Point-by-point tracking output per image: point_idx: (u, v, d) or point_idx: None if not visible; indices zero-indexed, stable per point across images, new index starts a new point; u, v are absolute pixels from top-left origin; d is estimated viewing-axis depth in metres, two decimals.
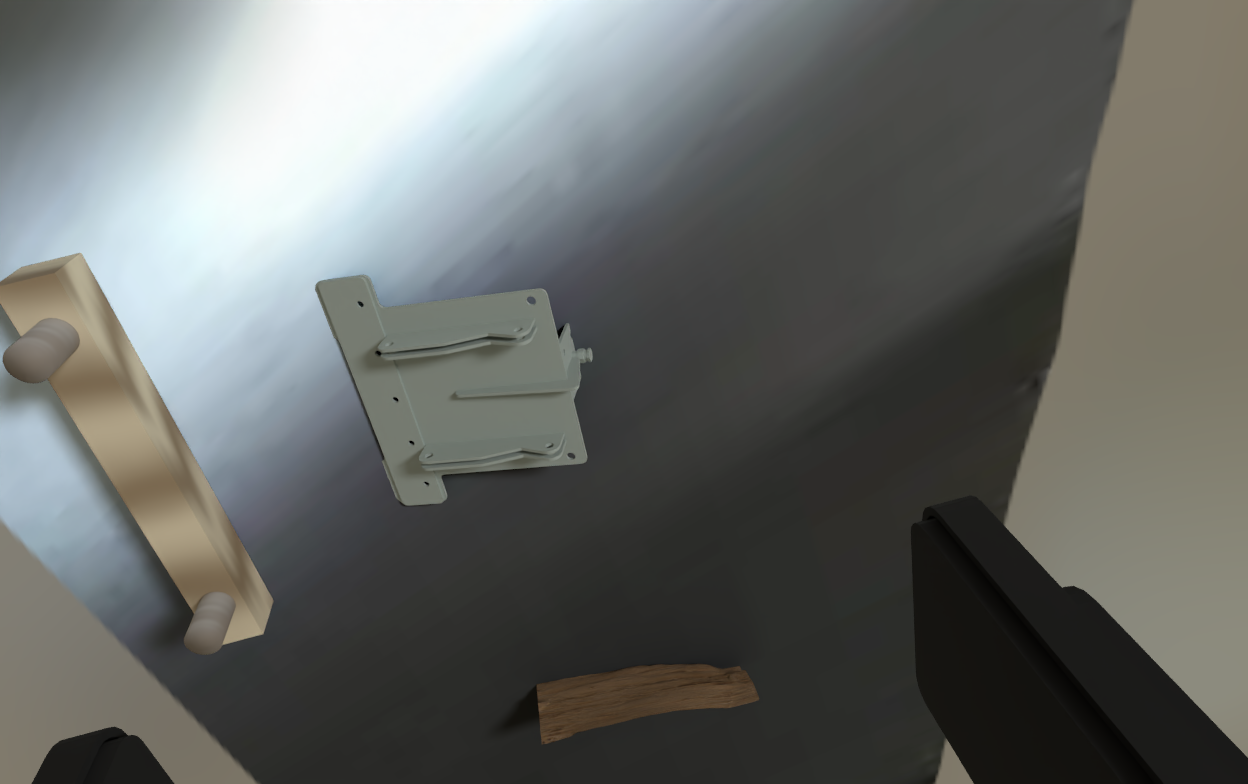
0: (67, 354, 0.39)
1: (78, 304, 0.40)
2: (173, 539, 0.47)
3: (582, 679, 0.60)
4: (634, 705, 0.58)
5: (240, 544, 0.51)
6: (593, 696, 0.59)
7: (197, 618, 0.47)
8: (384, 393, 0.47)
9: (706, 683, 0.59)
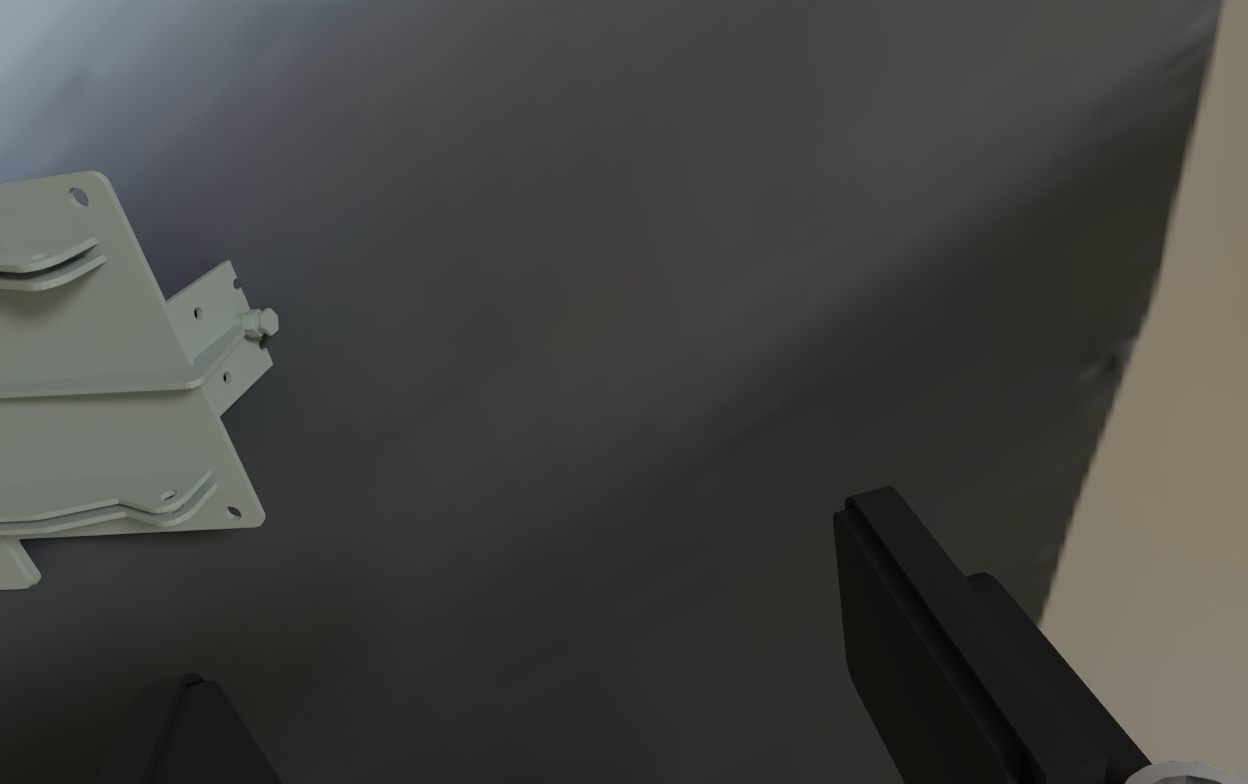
0: None
1: None
2: None
3: None
4: None
5: None
6: None
7: None
8: None
9: None
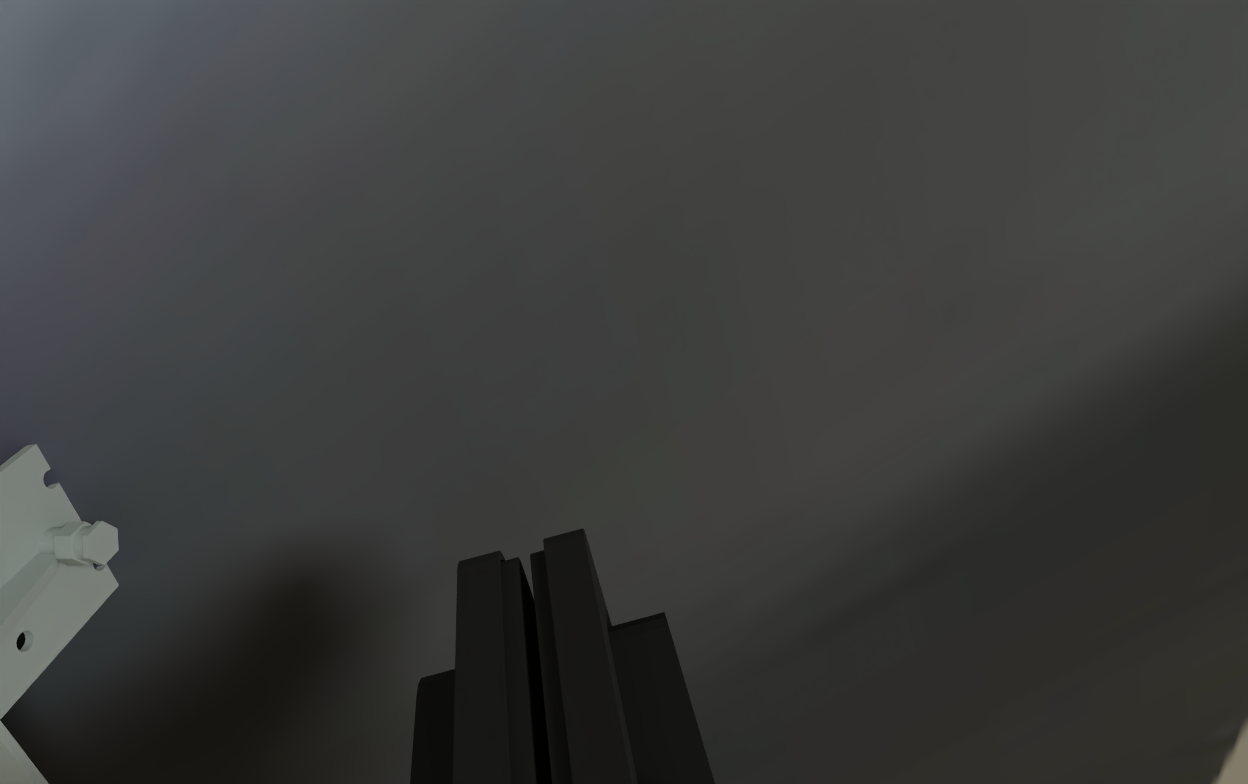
0: None
1: None
2: None
3: None
4: None
5: None
6: None
7: None
8: None
9: None
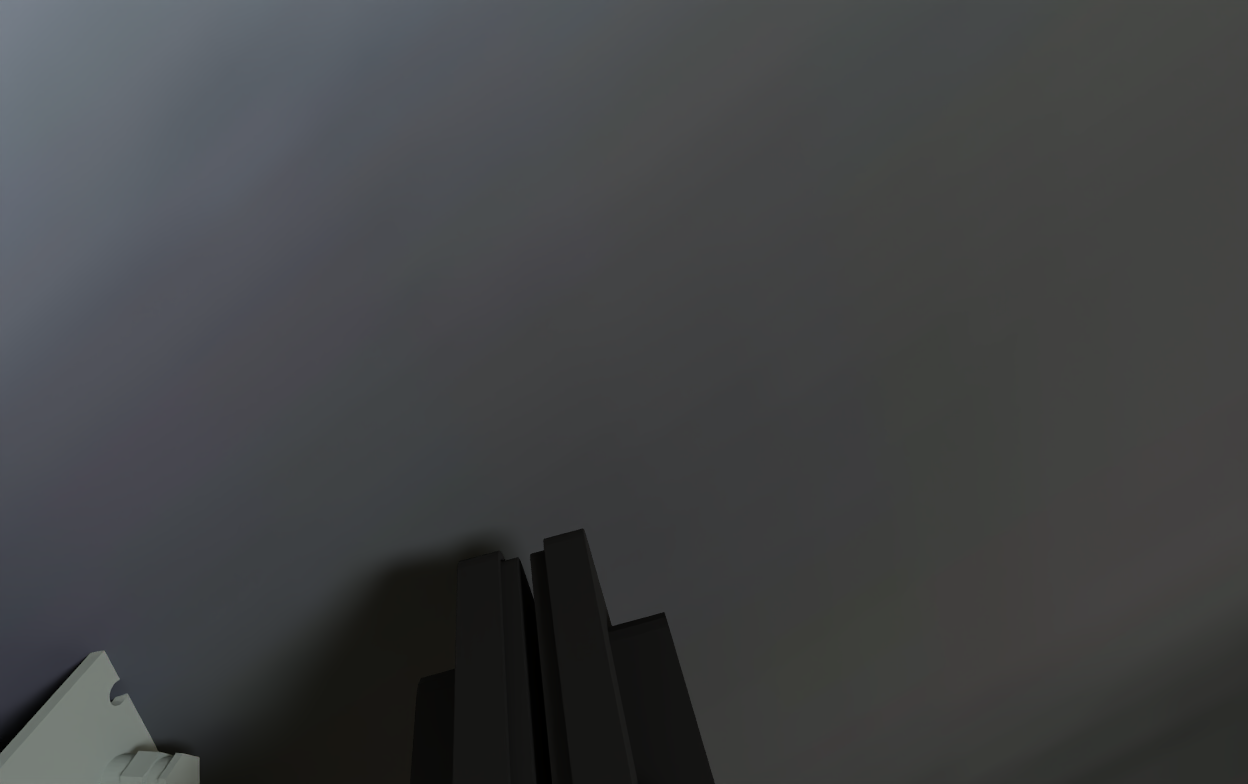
0: None
1: None
2: None
3: None
4: None
5: None
6: None
7: None
8: None
9: None
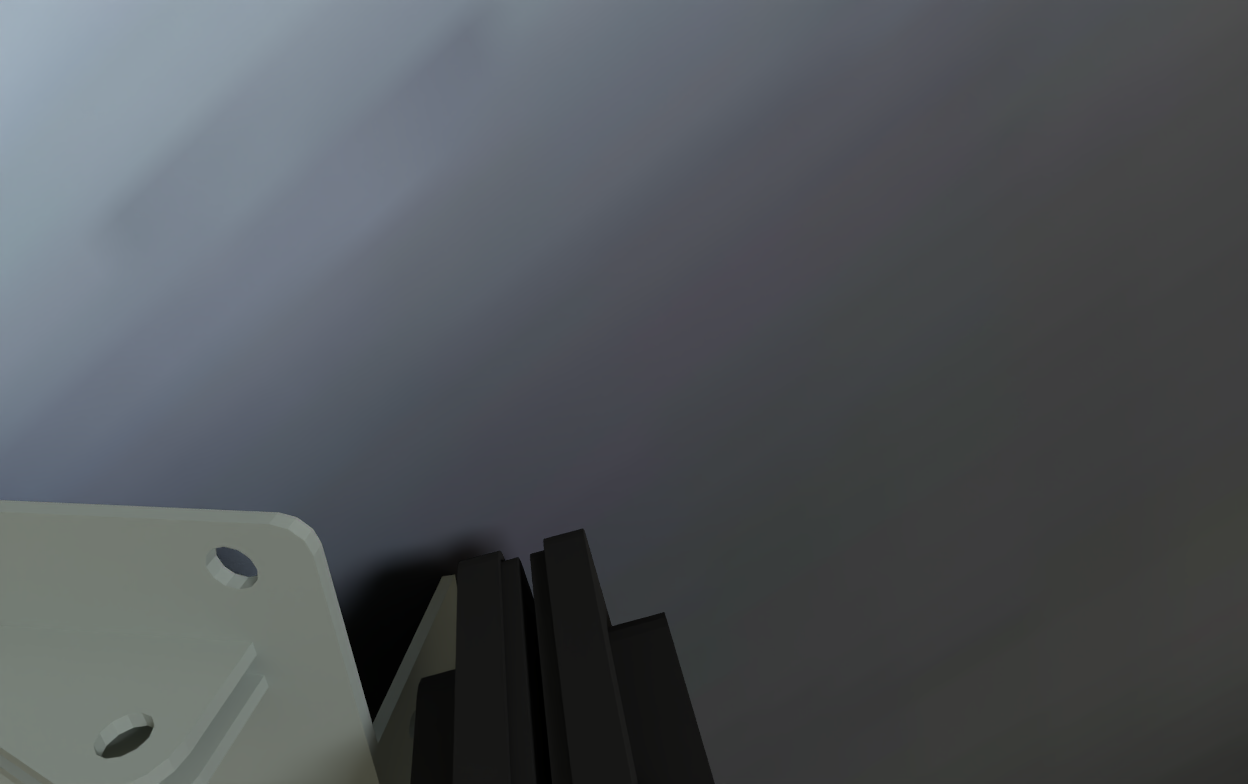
0: None
1: None
2: None
3: None
4: None
5: None
6: None
7: None
8: None
9: None
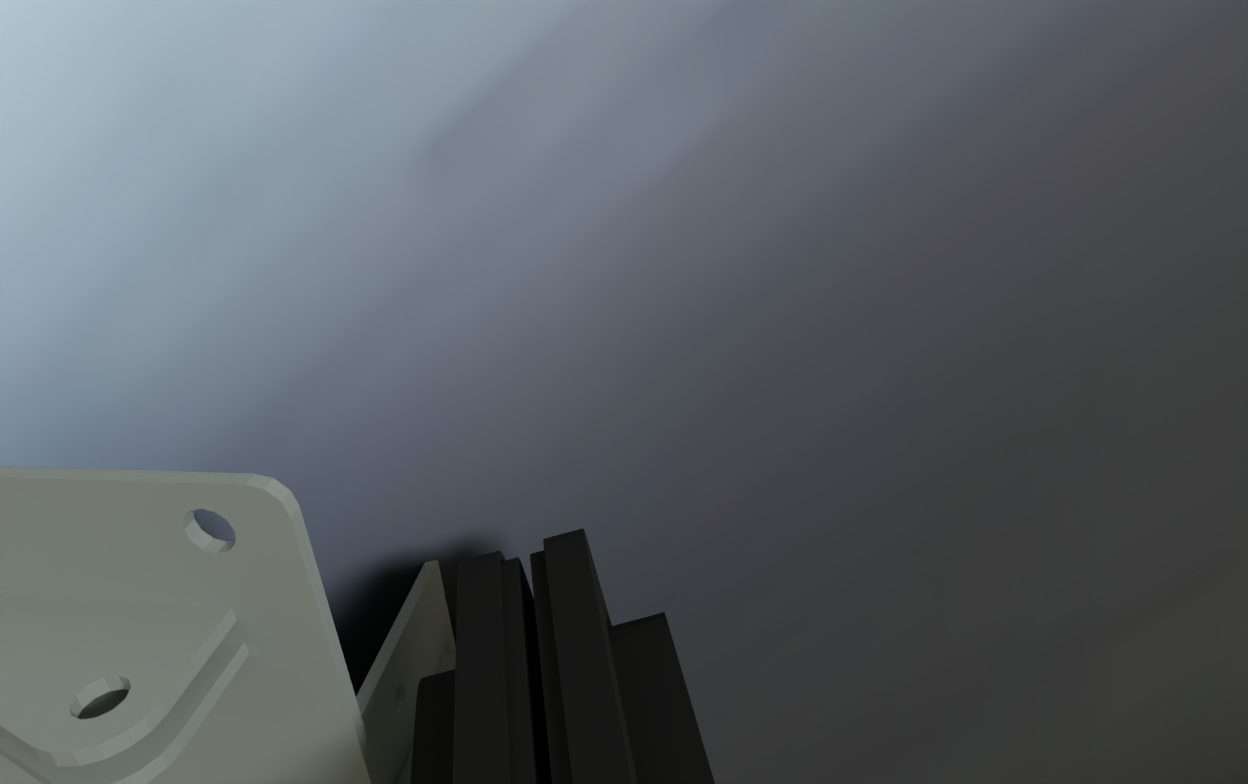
0: None
1: None
2: None
3: None
4: None
5: None
6: None
7: None
8: None
9: None
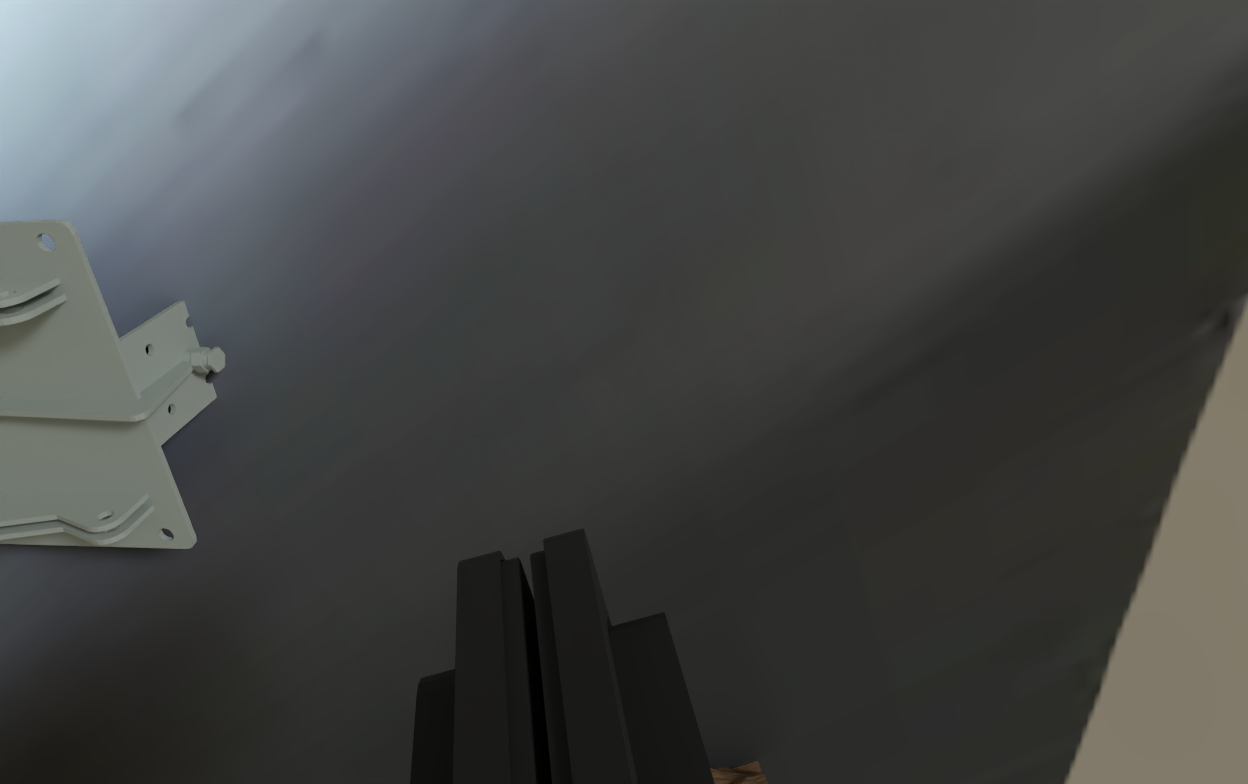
0: None
1: None
2: None
3: None
4: None
5: None
6: None
7: None
8: None
9: None
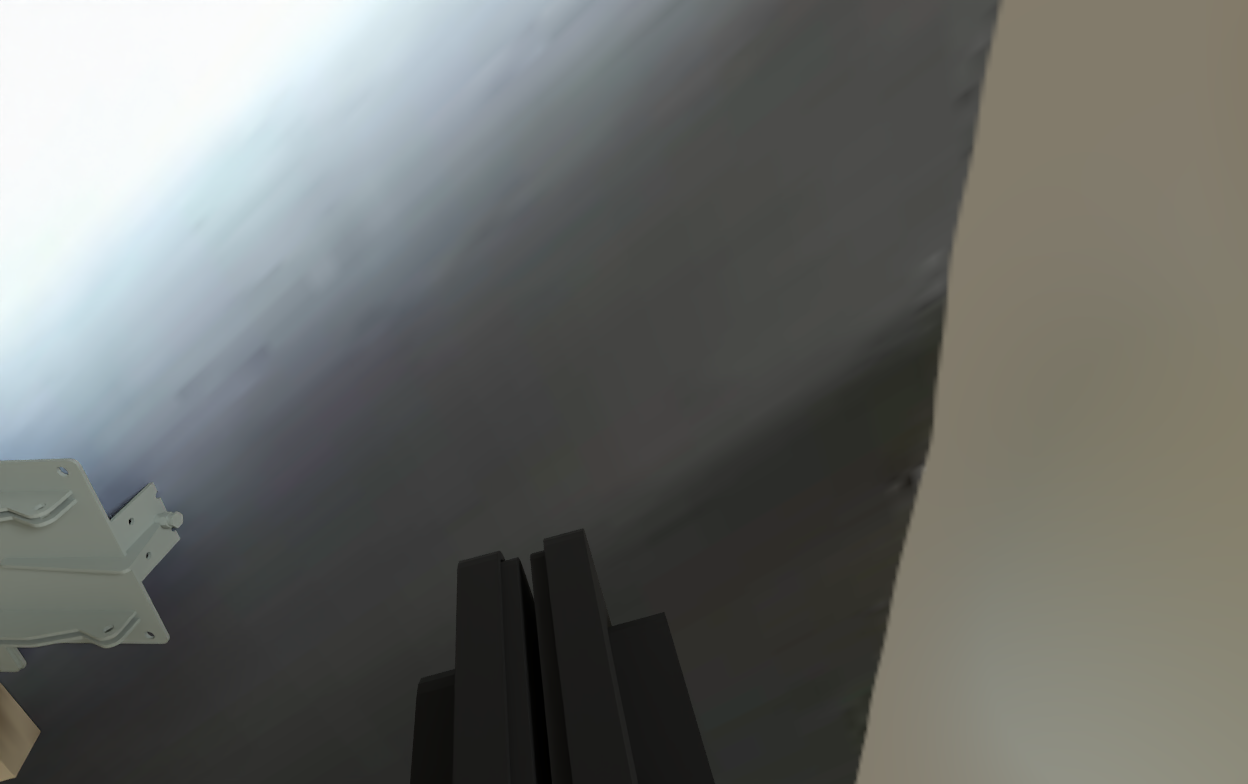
0: None
1: None
2: None
3: None
4: None
5: None
6: None
7: None
8: None
9: None
